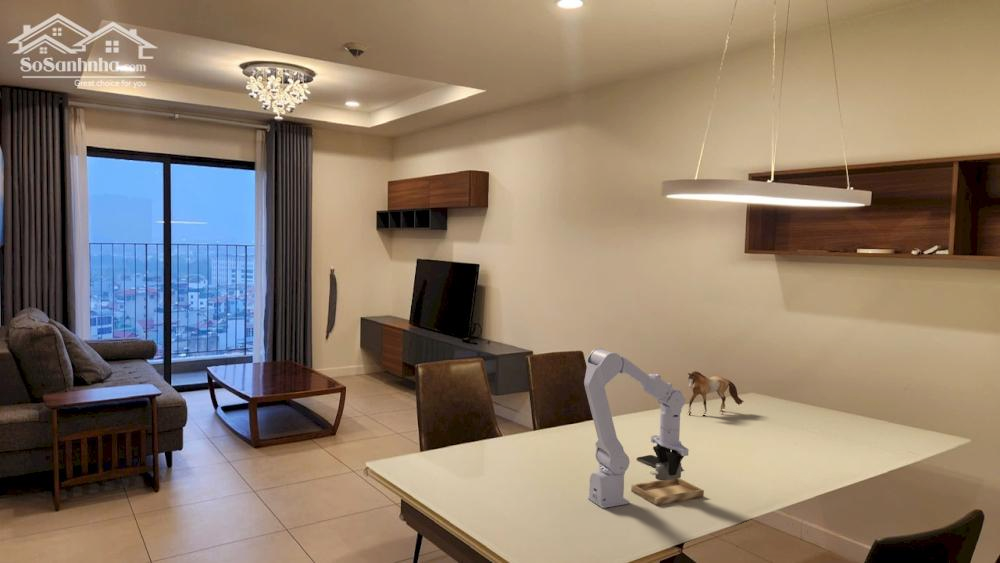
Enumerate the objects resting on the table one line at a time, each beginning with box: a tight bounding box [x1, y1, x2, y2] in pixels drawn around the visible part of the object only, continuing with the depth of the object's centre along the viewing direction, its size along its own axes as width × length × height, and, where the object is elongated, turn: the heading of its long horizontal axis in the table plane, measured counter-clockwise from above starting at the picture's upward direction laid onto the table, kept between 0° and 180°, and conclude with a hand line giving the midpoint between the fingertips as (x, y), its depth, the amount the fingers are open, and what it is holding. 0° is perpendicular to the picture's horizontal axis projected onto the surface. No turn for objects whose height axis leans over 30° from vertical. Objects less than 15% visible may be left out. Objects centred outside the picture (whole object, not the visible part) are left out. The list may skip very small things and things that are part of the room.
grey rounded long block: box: [649, 462, 682, 481], centre depth 186 cm, size 11×4×4 cm, turn 115°
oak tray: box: [631, 478, 705, 506], centre depth 187 cm, size 18×12×2 cm, turn 115°
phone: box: [636, 454, 683, 471], centre depth 213 cm, size 8×1×15 cm
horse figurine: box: [687, 370, 745, 415], centre depth 284 cm, size 31×8×21 cm, turn 112°
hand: (668, 472), depth 187 cm, fingers closed on grey rounded long block, 4 cm apart
